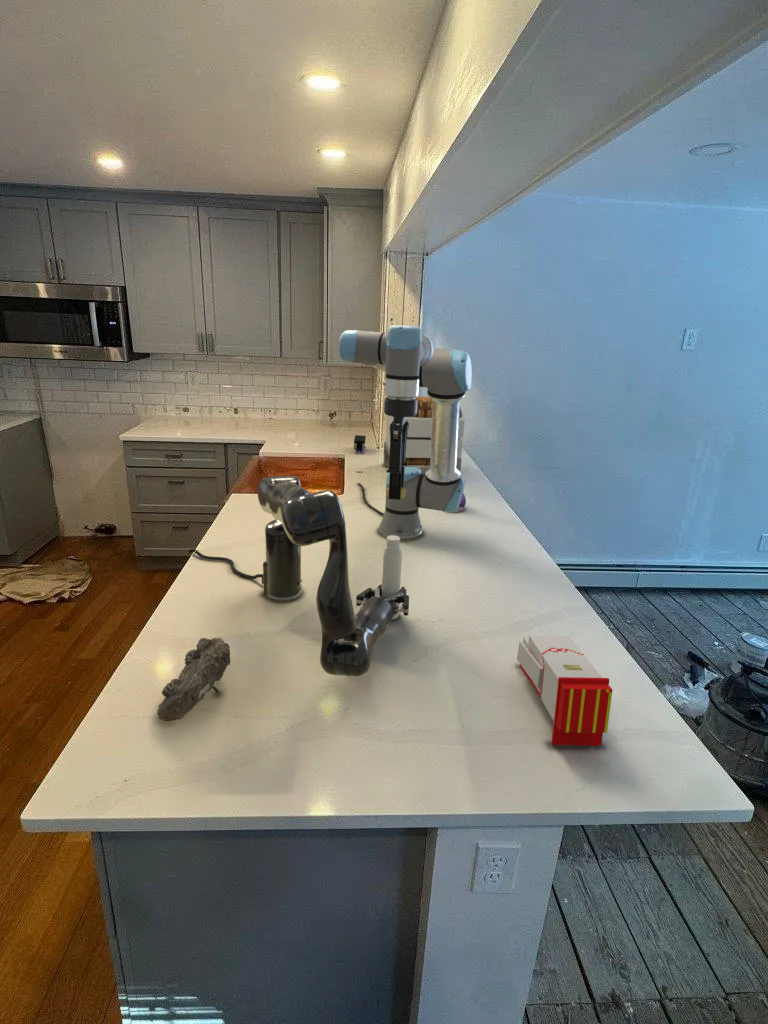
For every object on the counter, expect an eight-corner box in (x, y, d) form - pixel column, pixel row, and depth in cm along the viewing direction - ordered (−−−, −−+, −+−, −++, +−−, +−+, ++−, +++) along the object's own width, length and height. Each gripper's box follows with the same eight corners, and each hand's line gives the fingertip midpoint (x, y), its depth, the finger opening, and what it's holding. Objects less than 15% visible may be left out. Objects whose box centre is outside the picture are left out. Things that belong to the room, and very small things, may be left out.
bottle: (385, 609, 150) (389, 532, 142) (401, 613, 148) (406, 536, 140) (377, 616, 146) (380, 538, 138) (393, 621, 144) (398, 542, 137)
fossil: (183, 640, 124) (231, 608, 119) (213, 669, 127) (261, 639, 122) (134, 715, 105) (189, 682, 100) (171, 748, 108) (227, 717, 103)
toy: (564, 619, 129) (622, 685, 100) (558, 672, 132) (613, 753, 103) (511, 618, 129) (554, 684, 100) (507, 672, 132) (547, 752, 102)
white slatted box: (382, 463, 289) (386, 382, 275) (445, 464, 293) (451, 384, 279) (390, 482, 257) (394, 392, 243) (460, 483, 261) (468, 394, 247)
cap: (384, 493, 137) (384, 487, 137) (401, 492, 139) (402, 486, 138) (389, 498, 133) (390, 492, 133) (407, 497, 135) (408, 491, 134)
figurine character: (365, 456, 306) (365, 447, 319) (365, 443, 302) (366, 434, 316) (353, 456, 306) (353, 446, 319) (353, 442, 302) (354, 433, 316)
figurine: (452, 514, 221) (455, 477, 216) (438, 506, 229) (441, 470, 224) (472, 511, 225) (475, 475, 220) (457, 503, 234) (460, 468, 229)
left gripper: (402, 611, 128) (421, 580, 144) (343, 599, 132) (368, 570, 148) (400, 640, 131) (419, 606, 146) (343, 627, 135) (367, 595, 150)
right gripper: (390, 391, 137) (386, 483, 145) (378, 402, 120) (374, 505, 128) (421, 393, 136) (415, 486, 144) (413, 404, 119) (407, 508, 127)
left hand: (393, 588), depth 147 cm, fingers closed on bottle, 4 cm apart
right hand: (396, 495), depth 136 cm, fingers closed on cap, 4 cm apart
